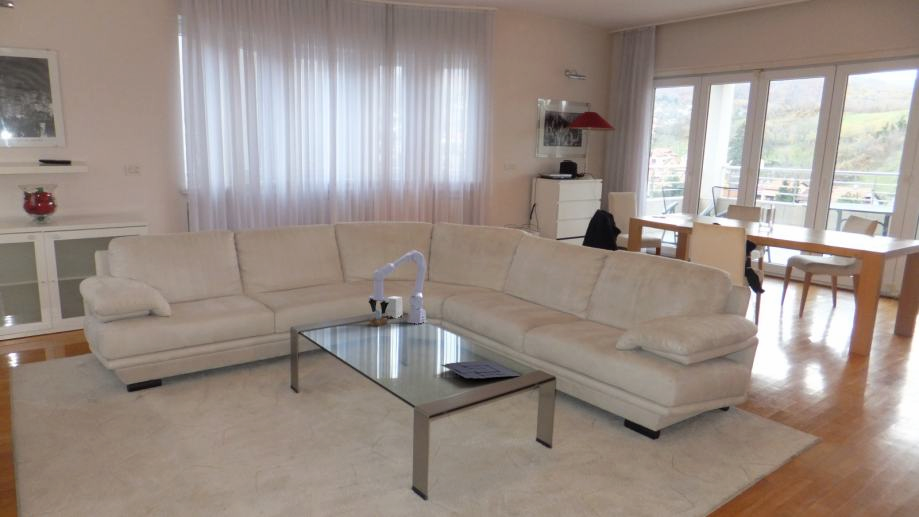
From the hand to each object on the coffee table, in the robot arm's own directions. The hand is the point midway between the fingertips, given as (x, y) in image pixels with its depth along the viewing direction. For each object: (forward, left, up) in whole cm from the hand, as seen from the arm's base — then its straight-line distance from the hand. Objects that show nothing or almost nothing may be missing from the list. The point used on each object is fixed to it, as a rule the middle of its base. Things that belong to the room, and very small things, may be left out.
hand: (378, 312), depth 349 cm
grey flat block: (-96, +37, -8) cm, 103 cm away
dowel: (0, 0, -7) cm, 7 cm away
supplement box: (+6, -21, -8) cm, 23 cm away
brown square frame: (0, 0, -7) cm, 7 cm away
